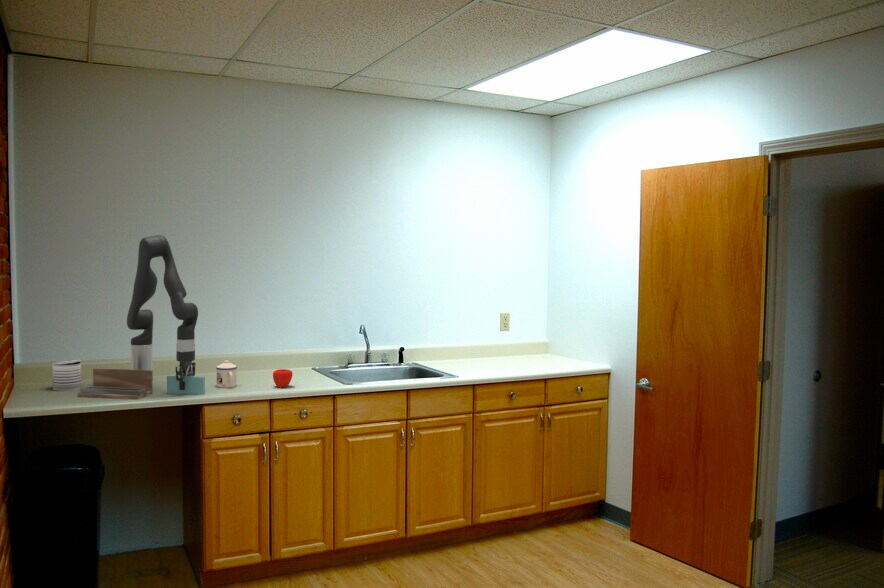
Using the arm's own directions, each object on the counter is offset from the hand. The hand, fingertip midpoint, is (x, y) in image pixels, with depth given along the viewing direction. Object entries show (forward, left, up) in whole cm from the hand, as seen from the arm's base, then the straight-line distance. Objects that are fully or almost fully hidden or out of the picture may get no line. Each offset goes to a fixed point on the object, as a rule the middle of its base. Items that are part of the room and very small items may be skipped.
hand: (185, 388), depth 301 cm
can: (0, -54, -2) cm, 54 cm away
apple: (-23, +35, -2) cm, 42 cm away
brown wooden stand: (+9, -26, -2) cm, 28 cm away
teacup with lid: (-18, +11, -2) cm, 21 cm away
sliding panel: (0, 0, -2) cm, 2 cm away
